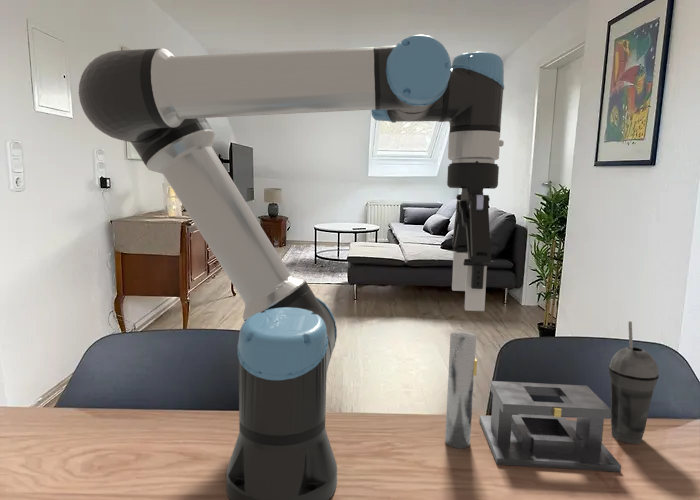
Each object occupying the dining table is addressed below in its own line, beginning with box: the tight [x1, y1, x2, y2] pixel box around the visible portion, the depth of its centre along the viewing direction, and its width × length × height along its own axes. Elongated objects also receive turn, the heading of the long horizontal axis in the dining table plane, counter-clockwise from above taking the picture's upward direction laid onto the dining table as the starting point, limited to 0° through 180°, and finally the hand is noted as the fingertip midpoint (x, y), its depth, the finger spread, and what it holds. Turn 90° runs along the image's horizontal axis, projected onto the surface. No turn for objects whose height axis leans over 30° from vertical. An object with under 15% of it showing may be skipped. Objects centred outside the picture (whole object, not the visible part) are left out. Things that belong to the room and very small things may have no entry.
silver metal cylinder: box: [444, 331, 478, 450], centre depth 79 cm, size 4×4×18 cm
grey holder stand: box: [478, 380, 622, 473], centre depth 80 cm, size 18×14×8 cm
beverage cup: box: [608, 321, 660, 445], centre depth 82 cm, size 7×7×20 cm
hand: (466, 299), depth 77 cm, fingers open, 13 cm apart
